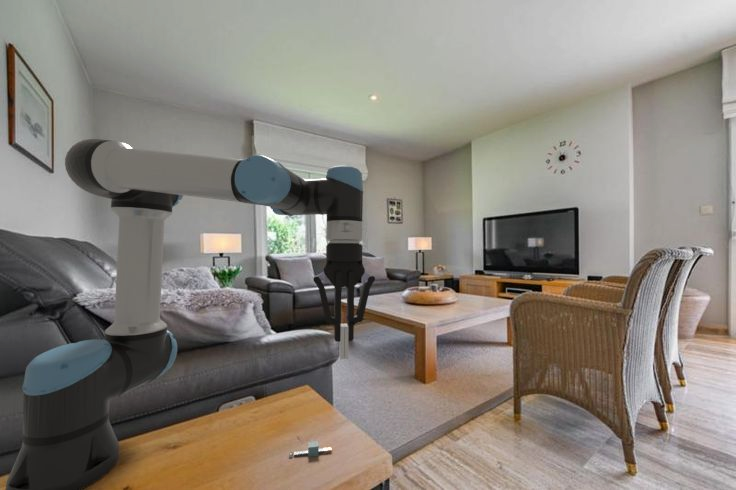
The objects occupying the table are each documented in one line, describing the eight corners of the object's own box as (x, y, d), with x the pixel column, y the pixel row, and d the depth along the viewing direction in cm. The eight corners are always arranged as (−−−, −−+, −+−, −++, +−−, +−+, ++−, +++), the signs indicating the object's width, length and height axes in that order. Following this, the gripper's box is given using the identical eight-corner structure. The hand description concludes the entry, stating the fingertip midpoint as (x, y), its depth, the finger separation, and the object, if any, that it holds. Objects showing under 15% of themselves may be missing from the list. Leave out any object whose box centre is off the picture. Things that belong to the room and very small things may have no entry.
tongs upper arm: (289, 459, 60) (289, 455, 60) (289, 455, 61) (289, 452, 61) (331, 453, 62) (331, 450, 62) (331, 450, 63) (331, 446, 63)
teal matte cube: (308, 463, 60) (308, 447, 61) (308, 457, 62) (308, 442, 62) (318, 462, 61) (318, 446, 61) (318, 456, 63) (318, 441, 63)
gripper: (312, 241, 59) (311, 365, 58) (379, 242, 61) (378, 361, 61) (312, 242, 66) (311, 352, 66) (371, 243, 69) (371, 349, 68)
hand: (343, 356), depth 63 cm, fingers closed
